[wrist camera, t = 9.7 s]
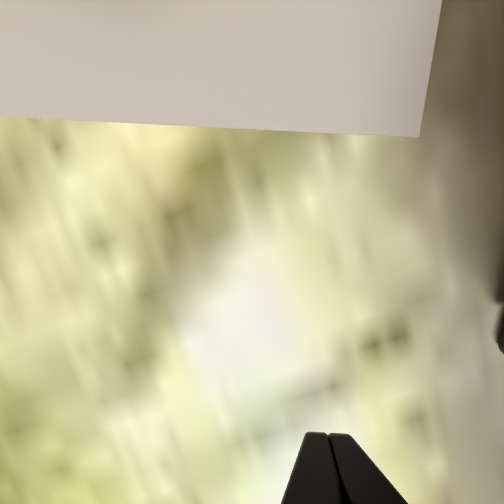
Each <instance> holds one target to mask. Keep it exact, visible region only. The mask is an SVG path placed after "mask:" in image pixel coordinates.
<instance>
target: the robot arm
mask: <svg viewBox="0 0 504 504" xmlns="http://www.w3.org/2000/svg"><path fill="white" fill-rule="evenodd" d="M503 322H504V318H503ZM499 349H500V351H501V352H502V353H503V354H504V326H503V329H502V333H501V337H500V340H499ZM281 504H408V503H407V502H406V501H405V499H404V498H403V497H402V496H401V495H400V494H399V492H398V491H397V490H396V489H395V488H394V486H393V485H392V484H391V483H390V482H389V480H388V479H387V478H386V477H385V476H384V474H383V473H382V472H381V471H380V470H379V469H378V467H377V466H376V465H375V464H374V463H373V461H372V460H371V459H370V458H369V457H368V455H367V454H366V453H365V452H364V451H363V450H362V448H361V447H360V446H359V445H358V444H357V442H356V441H355V440H354V439H353V438H352V437H351V436H350V435H349V434H341V433H330V434H329V435H327V434H326V433H323V432H307V433H306V434H305V436H304V439H303V442H302V445H301V448H300V450H299V453H298V456H297V459H296V462H295V465H294V468H293V470H292V473H291V476H290V479H289V482H288V485H287V488H286V491H285V493H284V496H283V499H282V502H281Z"/></svg>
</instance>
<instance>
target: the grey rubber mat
mask: <svg viewBox="0 0 504 504" xmlns="http://www.w3.org/2000/svg"><path fill="white" fill-rule="evenodd" d="M441 4H442V0H0V117H20V118H40V119H60V120H80V121H100V122H120V123H139V124H159V125H179V126H199V127H219V128H239V129H259V130H279V131H298V132H318V133H338V134H358V135H378V136H398V137H418V138H419V135H420V129H421V123H422V117H423V111H424V105H425V99H426V93H427V87H428V81H429V75H430V70H431V64H432V58H433V52H434V46H435V40H436V34H437V28H438V22H439V16H440V10H441Z"/></svg>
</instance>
